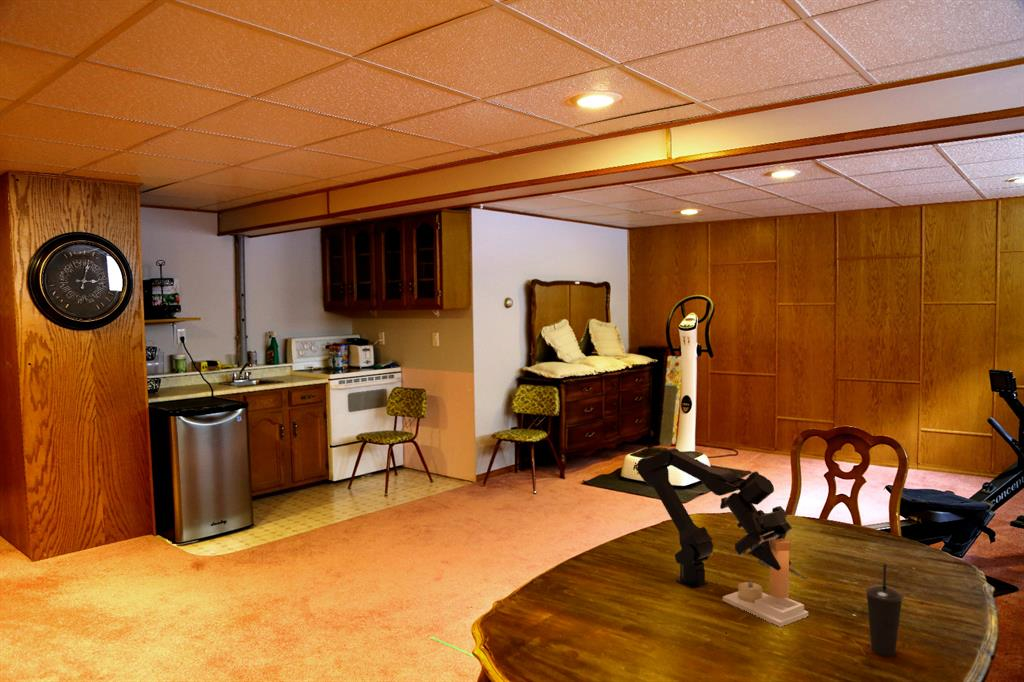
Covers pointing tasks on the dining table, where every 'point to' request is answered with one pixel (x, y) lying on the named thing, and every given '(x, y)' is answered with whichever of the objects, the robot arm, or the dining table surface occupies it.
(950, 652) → the dining table surface
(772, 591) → the orange square-topped peg
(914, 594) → the dining table surface
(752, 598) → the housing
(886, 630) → the drinking cup
